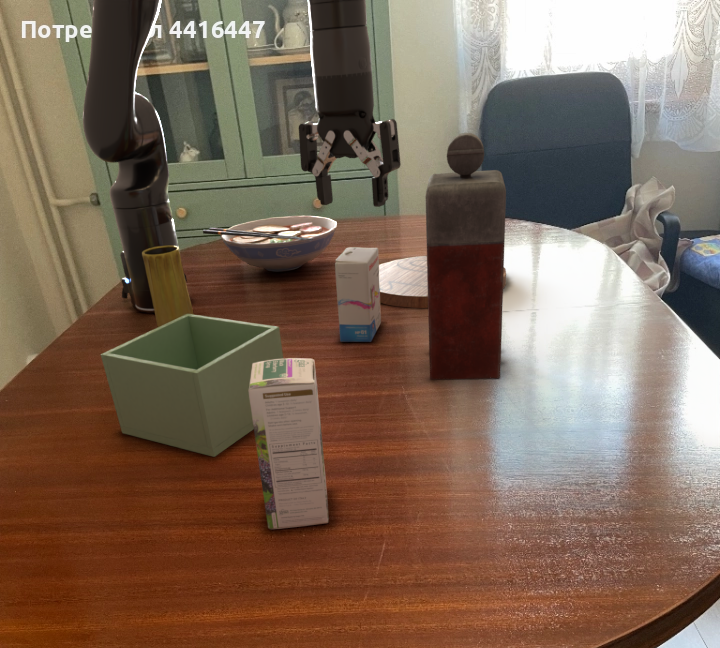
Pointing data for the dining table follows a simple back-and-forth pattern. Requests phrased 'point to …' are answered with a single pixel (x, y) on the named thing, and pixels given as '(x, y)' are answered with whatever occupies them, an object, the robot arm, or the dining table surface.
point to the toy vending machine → (465, 265)
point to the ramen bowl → (278, 240)
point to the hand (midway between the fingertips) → (352, 204)
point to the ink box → (358, 294)
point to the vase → (167, 283)
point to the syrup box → (289, 441)
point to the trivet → (406, 282)
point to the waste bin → (189, 381)
